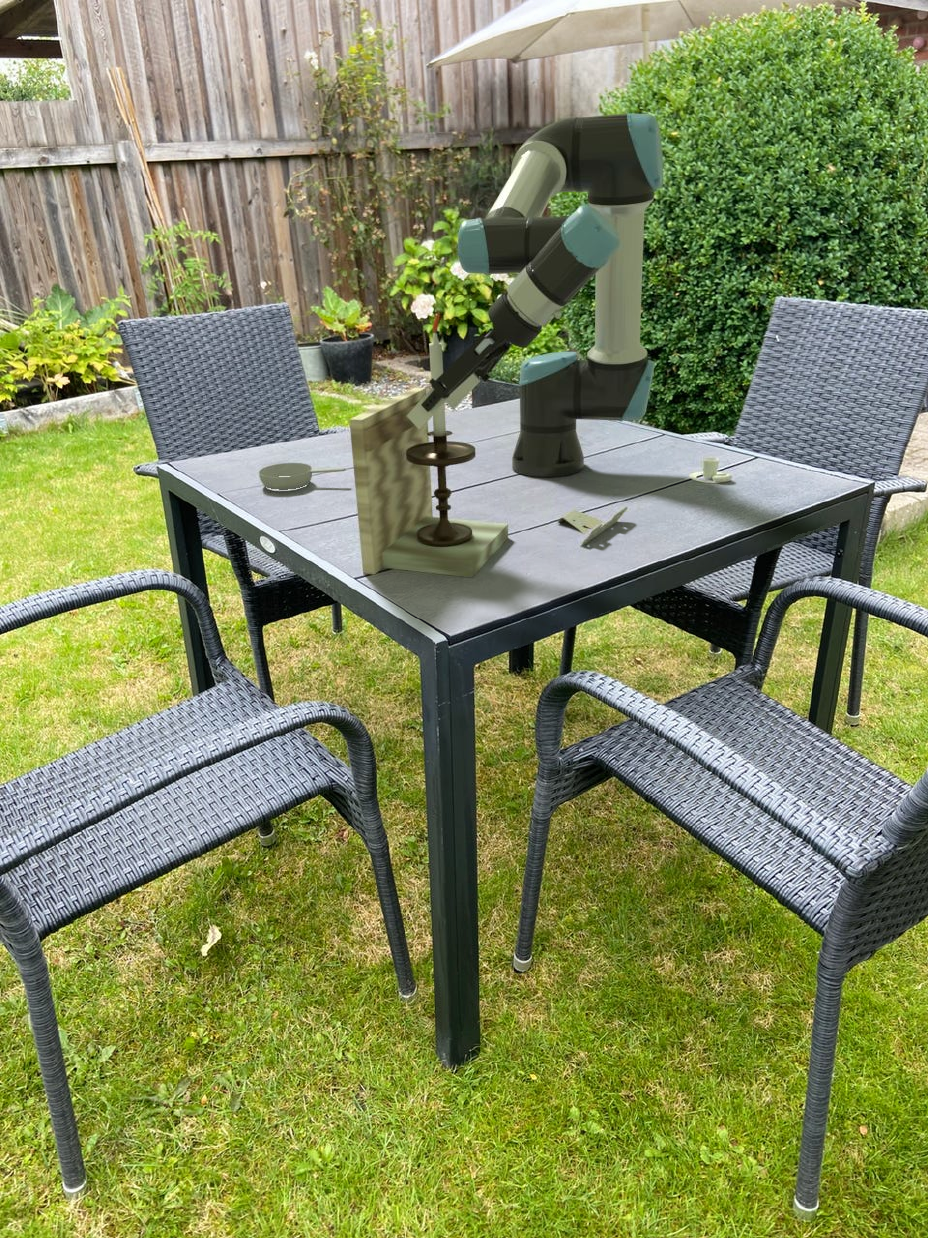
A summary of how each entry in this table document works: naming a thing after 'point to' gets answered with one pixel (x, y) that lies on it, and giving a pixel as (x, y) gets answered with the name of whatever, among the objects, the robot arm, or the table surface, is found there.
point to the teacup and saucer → (711, 472)
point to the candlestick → (441, 464)
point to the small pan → (296, 471)
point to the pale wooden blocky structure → (406, 498)
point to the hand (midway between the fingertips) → (431, 412)
